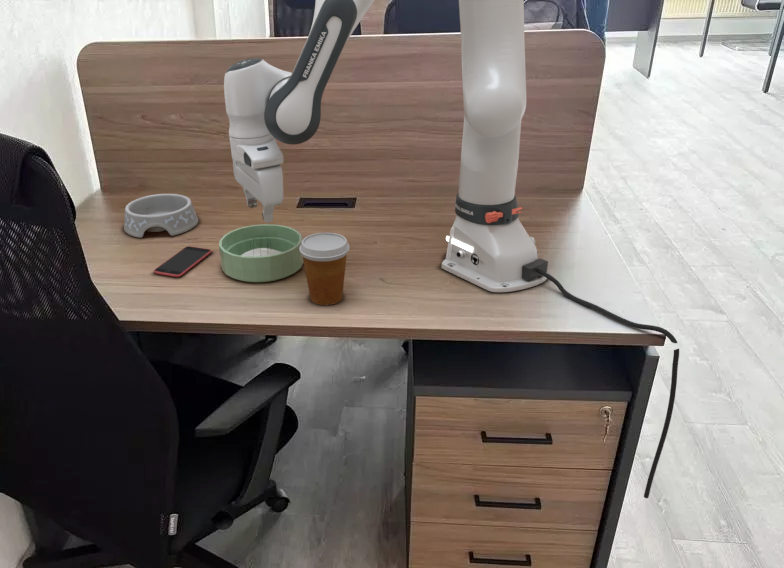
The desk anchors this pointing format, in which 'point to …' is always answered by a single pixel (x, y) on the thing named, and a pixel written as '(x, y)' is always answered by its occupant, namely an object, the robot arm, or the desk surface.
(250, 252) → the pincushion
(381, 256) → the desk surface
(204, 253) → the smartphone
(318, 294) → the disposable coffee cup
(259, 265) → the bowl
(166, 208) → the dog bowl
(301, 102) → the robot arm
